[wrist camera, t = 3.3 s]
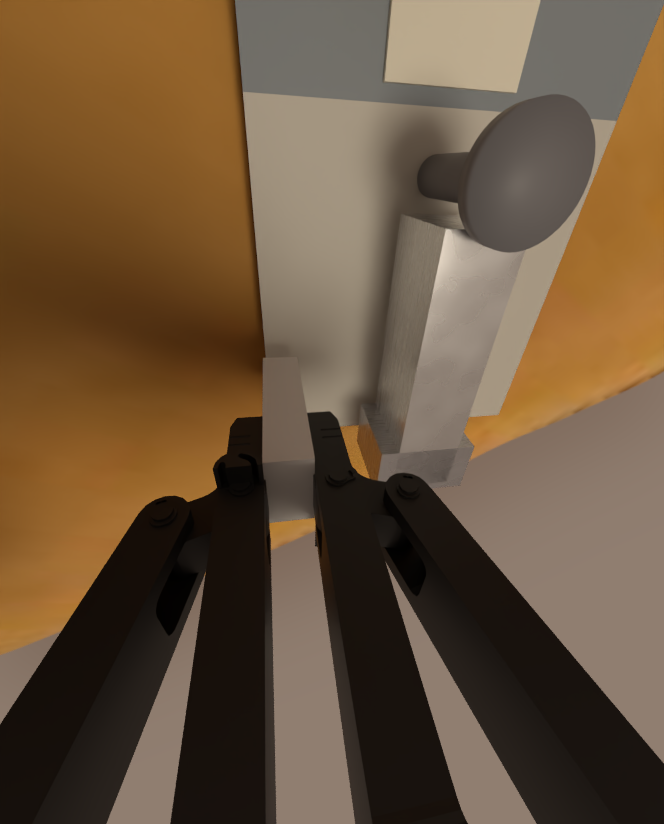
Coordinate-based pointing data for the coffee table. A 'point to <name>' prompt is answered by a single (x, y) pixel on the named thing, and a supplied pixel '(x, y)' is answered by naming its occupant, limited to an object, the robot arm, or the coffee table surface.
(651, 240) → the coffee table surface
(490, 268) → the bar
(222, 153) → the coffee table surface
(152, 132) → the coffee table surface
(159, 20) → the coffee table surface
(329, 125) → the door board
